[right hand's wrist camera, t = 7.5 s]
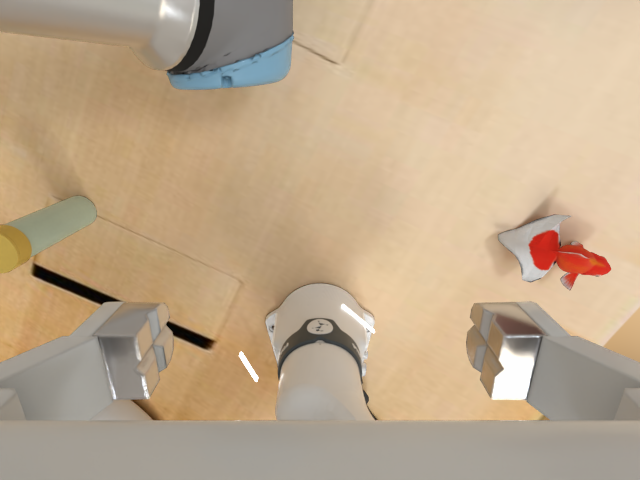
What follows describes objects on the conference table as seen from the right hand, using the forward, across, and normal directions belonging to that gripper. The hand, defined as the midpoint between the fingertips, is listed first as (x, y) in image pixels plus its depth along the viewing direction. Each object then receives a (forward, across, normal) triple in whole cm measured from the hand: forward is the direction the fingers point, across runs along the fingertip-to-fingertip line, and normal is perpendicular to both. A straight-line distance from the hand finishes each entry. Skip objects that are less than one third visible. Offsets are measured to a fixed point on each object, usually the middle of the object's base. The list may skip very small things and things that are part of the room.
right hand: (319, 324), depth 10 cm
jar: (+48, -37, -11) cm, 62 cm away
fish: (+48, +35, -17) cm, 62 cm away
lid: (+31, -37, -11) cm, 50 cm away
